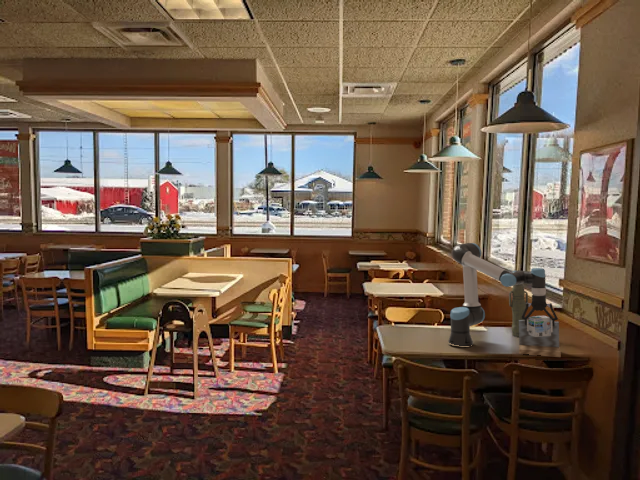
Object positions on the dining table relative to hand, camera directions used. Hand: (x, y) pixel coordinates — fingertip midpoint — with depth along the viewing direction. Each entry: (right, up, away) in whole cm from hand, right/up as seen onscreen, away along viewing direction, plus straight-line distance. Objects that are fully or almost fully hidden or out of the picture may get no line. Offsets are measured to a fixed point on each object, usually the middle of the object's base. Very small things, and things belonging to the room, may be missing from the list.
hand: (539, 331), depth 281 cm
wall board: (+2, -14, +4) cm, 15 cm away
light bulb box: (0, -3, 0) cm, 3 cm away
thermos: (+6, -12, +44) cm, 46 cm away
